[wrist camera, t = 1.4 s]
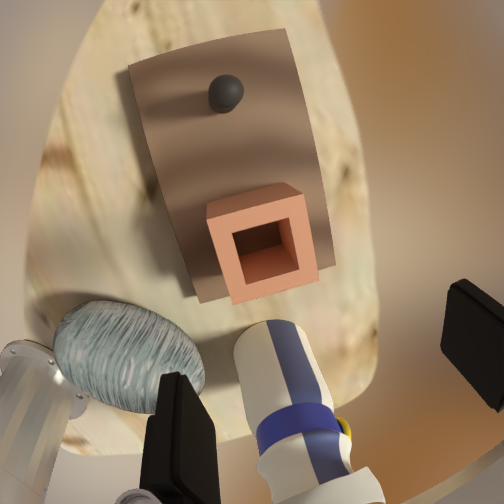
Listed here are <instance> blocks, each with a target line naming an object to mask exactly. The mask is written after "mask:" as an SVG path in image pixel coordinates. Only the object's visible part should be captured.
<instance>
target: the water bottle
mask: <svg viewBox="0 0 504 504" xmlns="http://www.w3.org/2000/svg"><path fill="white" fill-rule="evenodd" d="M233 356H234V361H235V365H236V369H237V373H238V378H239V382H240V387H241V392H242V397H243V402H244V408H245V413H246V418H247V421H248V425H249V427H250V429H251V431H252V433H253V435H254V436H255V437H256V439H257V443H258V449H259V454H260V458H259V460H258V461H257V464H256V469H257V472H258V473H259V475H260V476H262V477H263V478H264V479H266V481H267V482H268V484H269V487H270V489H271V494H272V504H367V503H371V502H382V503H384V504H385V498H384V495H383V492H382V489H381V486H380V484H379V482H378V480H377V479H376V478H375V477H374V475H373V474H372V473H371V471H370V470H369V468H368V467H364V468H363V469H361V470H359V471H357V472H354V471H353V470H352V468H351V465H350V459H349V454H350V450H351V446H352V443H351V431H350V428H349V425H348V423H347V422H346V420H344V419H343V418H340V417H336V418H335V416H334V414H333V413H334V412H333V411H334V408H333V402H332V398H331V395H330V393H329V390H328V388H327V386H326V383H325V381H324V379H323V377H322V374H321V372H320V370H319V368H318V365H317V363H316V360H315V358H314V355H313V353H312V350H311V348H310V345H309V342H308V340H307V337H306V335H305V333H304V331H303V330H302V329H301V328H300V327H299V326H297V325H296V324H294V323H292V322H289V321H285V320H268V321H264V322H260V323H258V324H255V325H253V326H251V327H250V328H248V329H247V330H246V331H244V332H243V333H242V334H241V335H240V337H239V338H238V339H237V341H236V343H235V346H234V350H233Z"/></svg>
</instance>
